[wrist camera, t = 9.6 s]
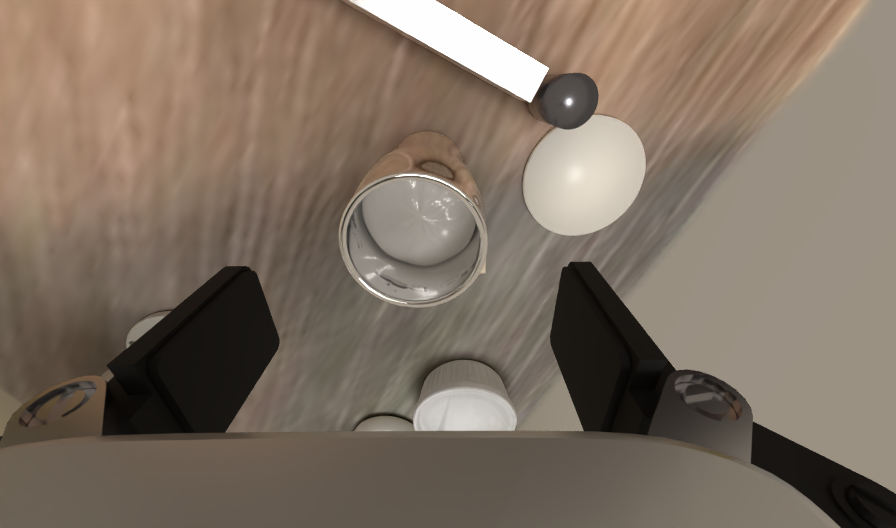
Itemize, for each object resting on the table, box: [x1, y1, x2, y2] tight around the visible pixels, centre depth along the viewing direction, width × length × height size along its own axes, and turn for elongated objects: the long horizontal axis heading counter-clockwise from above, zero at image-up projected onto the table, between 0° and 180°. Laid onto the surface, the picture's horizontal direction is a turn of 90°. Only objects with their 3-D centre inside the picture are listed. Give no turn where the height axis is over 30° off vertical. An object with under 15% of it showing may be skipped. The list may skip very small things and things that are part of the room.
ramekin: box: [413, 360, 517, 431], centre depth 38 cm, size 11×11×5 cm
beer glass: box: [338, 131, 488, 308], centre depth 21 cm, size 7×7×15 cm
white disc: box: [522, 115, 646, 235], centre depth 28 cm, size 10×10×1 cm
